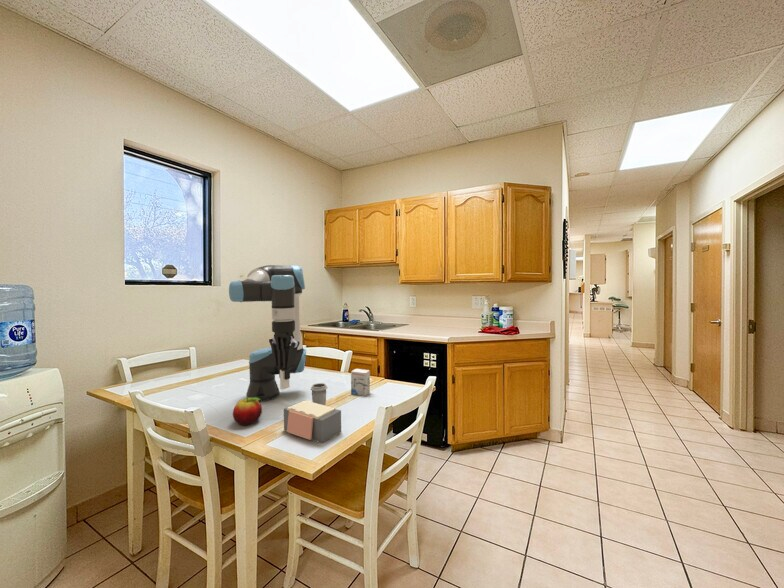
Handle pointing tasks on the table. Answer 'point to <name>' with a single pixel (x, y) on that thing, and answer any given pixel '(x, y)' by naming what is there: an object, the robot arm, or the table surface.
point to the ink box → (360, 382)
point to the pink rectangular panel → (300, 425)
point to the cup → (319, 393)
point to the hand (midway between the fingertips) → (284, 387)
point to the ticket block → (317, 419)
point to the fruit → (247, 411)
